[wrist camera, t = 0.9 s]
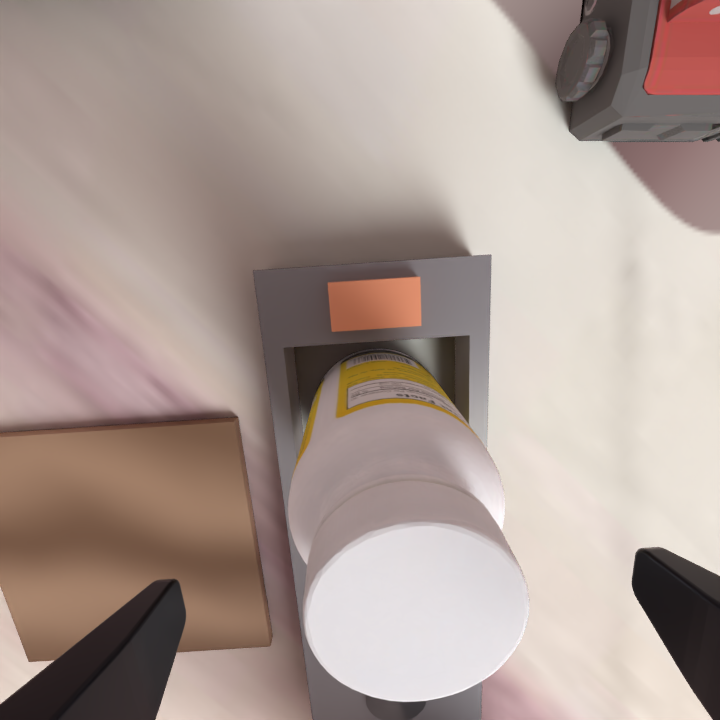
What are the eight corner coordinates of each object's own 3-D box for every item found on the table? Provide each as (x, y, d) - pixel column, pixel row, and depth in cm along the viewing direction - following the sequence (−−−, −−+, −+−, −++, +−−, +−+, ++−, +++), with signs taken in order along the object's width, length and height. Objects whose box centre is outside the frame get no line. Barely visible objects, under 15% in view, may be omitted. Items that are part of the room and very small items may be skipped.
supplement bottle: (370, 486, 17) (391, 775, 7) (288, 401, 16) (186, 609, 6) (466, 413, 16) (630, 630, 6) (386, 318, 15) (442, 411, 5)
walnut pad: (272, 636, 19) (270, 646, 18) (37, 651, 19) (28, 662, 18) (238, 417, 16) (234, 421, 15) (-42, 435, 16) (-54, 440, 15)
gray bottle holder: (468, 682, 20) (485, 743, 17) (319, 692, 20) (313, 754, 17) (472, 255, 14) (498, 254, 12) (266, 269, 14) (248, 270, 12)
